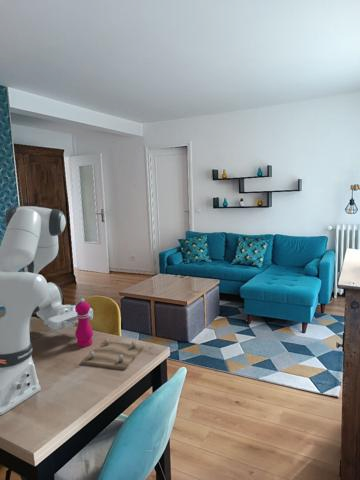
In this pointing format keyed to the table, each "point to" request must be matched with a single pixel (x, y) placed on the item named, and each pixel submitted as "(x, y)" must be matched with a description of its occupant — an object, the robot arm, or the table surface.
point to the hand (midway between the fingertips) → (82, 321)
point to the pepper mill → (83, 324)
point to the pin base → (113, 355)
